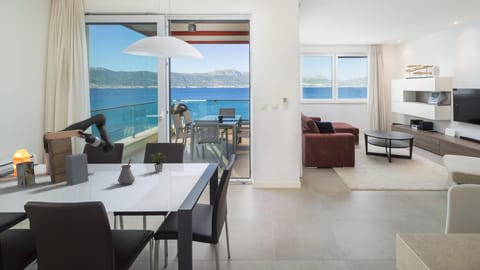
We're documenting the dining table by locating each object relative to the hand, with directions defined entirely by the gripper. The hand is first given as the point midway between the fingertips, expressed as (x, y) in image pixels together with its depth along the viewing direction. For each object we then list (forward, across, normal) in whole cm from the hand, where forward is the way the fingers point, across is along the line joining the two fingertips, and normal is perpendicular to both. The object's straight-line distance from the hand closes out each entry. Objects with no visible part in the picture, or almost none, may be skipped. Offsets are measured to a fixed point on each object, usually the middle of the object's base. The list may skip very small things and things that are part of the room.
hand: (75, 131), depth 257 cm
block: (+6, 0, +7) cm, 9 cm away
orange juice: (-4, -48, +38) cm, 62 cm away
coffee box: (+10, -12, +46) cm, 49 cm away
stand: (-7, 0, +37) cm, 37 cm away
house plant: (-55, +40, +9) cm, 69 cm away
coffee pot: (-26, +44, +26) cm, 57 cm away
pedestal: (-9, +14, +35) cm, 39 cm away
